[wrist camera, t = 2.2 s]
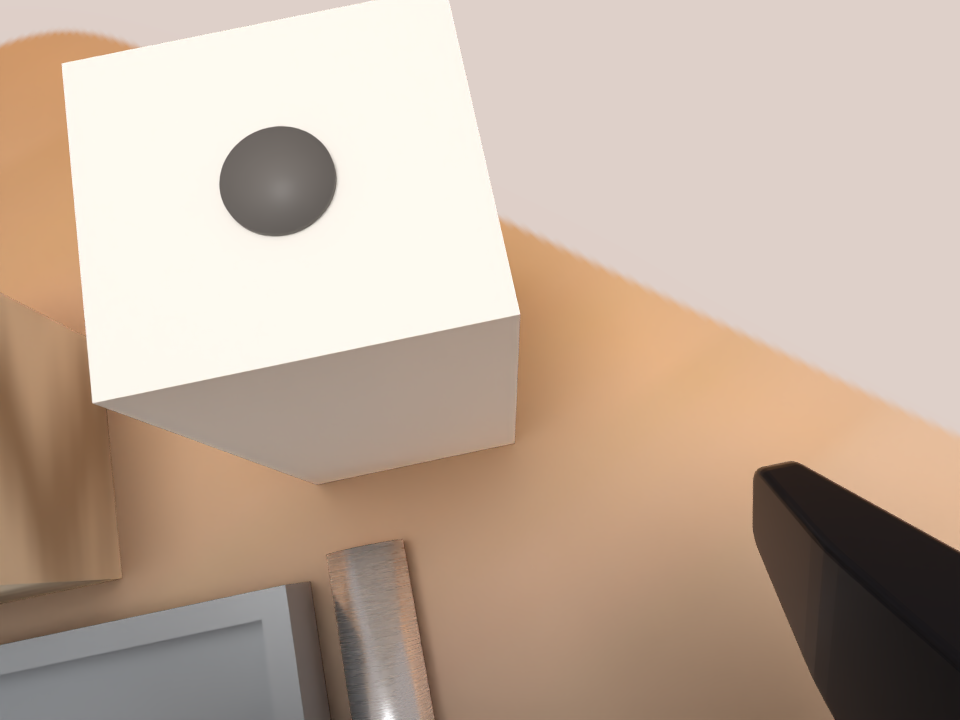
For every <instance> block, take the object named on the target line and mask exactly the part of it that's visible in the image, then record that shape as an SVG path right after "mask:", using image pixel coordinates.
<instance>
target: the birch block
mask: <svg viewBox="0 0 960 720" xmlns="http://www.w3.org/2000/svg"><path fill="white" fill-rule="evenodd" d="M117 579H122V570H121V560H120V549H119V538H118V527H117V517H116V506H115V495H114V484H113V473H112V463H111V452H110V441H109V430H108V419H107V409H106V408H104V407H101V406H99V405H96V404H93V403H92V393H91V382H90V371H89V360H88V349H87V338H86V337H85V336H83V335H81V334H79V333H78V332H76V331H74V330H72V329H70V328H68V327H66V326H64V325H62V324H60V323H58V322H56V321H54V320H52V319H51V318H49V317H47V316H45V315H43V314H41V313H39V312H37V311H35V310H33V309H31V308H29V307H27V306H25V305H24V304H22V303H20V302H18V301H16V300H14V299H12V298H10V297H8V296H6V295H4V294H2V293H0V604H2V603H7V602H12V601H16V600H21V599H26V598H31V597H36V596H40V595H45V594H50V593H55V592H60V591H64V590H69V589H74V588H79V587H83V586H88V585H93V584H98V583H103V582H107V581H112V580H117Z"/></svg>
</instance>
